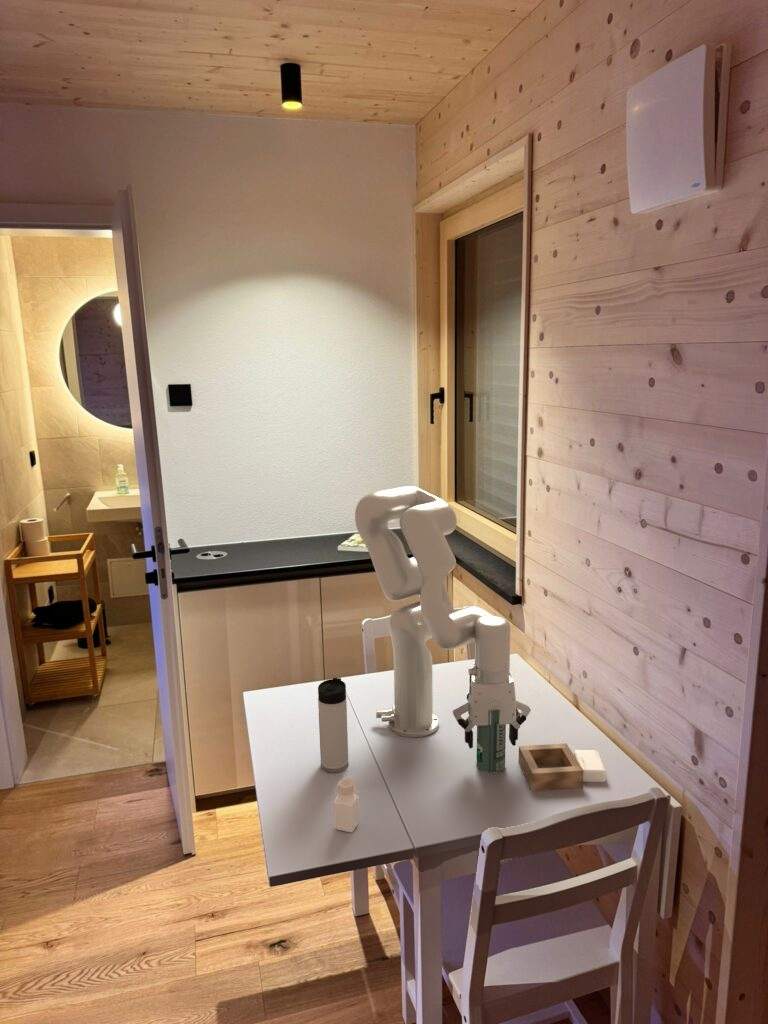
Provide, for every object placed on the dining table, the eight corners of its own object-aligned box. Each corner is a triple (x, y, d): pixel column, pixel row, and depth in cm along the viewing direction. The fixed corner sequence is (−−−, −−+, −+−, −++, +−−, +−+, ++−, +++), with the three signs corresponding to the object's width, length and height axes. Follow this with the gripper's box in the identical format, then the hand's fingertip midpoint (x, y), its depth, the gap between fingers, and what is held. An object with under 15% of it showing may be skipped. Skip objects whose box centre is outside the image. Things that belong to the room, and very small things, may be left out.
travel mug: (353, 760, 167) (350, 679, 163) (342, 775, 161) (339, 692, 157) (328, 755, 169) (325, 675, 165) (316, 770, 163) (312, 688, 159)
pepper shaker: (333, 830, 143) (332, 786, 141) (342, 818, 146) (340, 775, 144) (352, 834, 141) (351, 790, 139) (360, 822, 145) (359, 779, 143)
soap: (606, 783, 157) (606, 771, 156) (580, 783, 157) (580, 770, 157) (597, 760, 166) (598, 748, 165) (572, 760, 166) (573, 748, 165)
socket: (532, 790, 154) (532, 773, 153) (518, 762, 165) (518, 746, 164) (582, 787, 155) (583, 770, 154) (565, 759, 166) (566, 743, 165)
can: (485, 755, 168) (485, 695, 165) (509, 763, 165) (510, 702, 161) (472, 767, 163) (472, 706, 160) (496, 776, 160) (497, 713, 157)
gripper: (456, 682, 155) (456, 755, 158) (535, 678, 156) (533, 750, 160) (450, 667, 162) (450, 737, 166) (526, 663, 163) (524, 733, 167)
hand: (491, 743), depth 163 cm, fingers open, 9 cm apart
